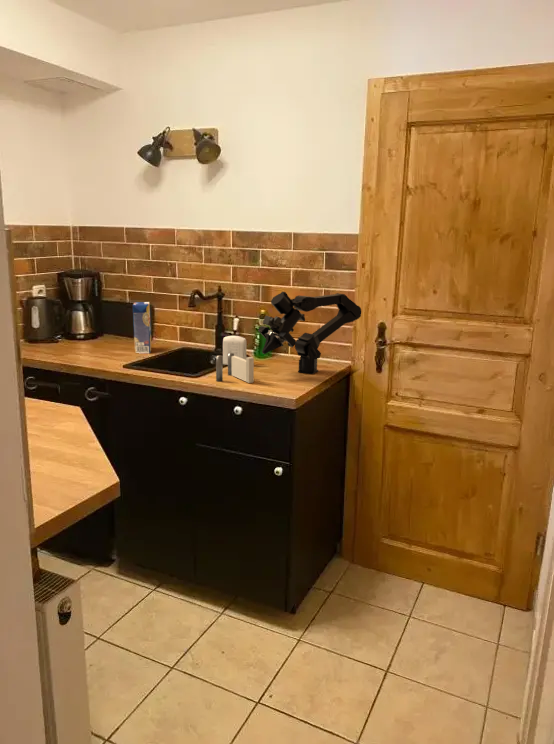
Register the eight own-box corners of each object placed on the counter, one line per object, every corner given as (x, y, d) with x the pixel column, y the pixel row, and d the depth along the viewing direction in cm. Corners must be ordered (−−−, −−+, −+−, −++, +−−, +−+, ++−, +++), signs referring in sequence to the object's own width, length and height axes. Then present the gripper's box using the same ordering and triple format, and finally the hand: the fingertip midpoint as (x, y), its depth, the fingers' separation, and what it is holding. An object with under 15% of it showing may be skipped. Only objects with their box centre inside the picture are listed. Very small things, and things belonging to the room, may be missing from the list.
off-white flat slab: (231, 375, 220) (231, 352, 218) (235, 374, 221) (235, 351, 219) (248, 383, 209) (248, 358, 207) (253, 382, 210) (253, 358, 208)
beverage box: (151, 348, 269) (149, 302, 264) (150, 353, 259) (148, 305, 254) (136, 348, 268) (134, 302, 263) (134, 353, 258) (132, 305, 253)
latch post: (223, 380, 213) (223, 355, 211) (220, 381, 211) (220, 356, 209) (218, 379, 214) (218, 355, 212) (214, 381, 212) (214, 356, 210)
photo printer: (247, 364, 239) (248, 335, 236) (244, 367, 235) (244, 337, 232) (225, 362, 242) (225, 334, 239) (221, 364, 238) (221, 335, 235)
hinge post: (235, 374, 223) (235, 353, 221) (231, 375, 221) (231, 354, 219) (229, 373, 224) (229, 352, 222) (226, 374, 222) (226, 353, 220)
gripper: (262, 305, 221) (237, 335, 218) (289, 311, 206) (263, 343, 203) (279, 324, 227) (255, 353, 224) (306, 330, 212) (281, 362, 209)
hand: (263, 353), depth 215 cm, fingers closed
